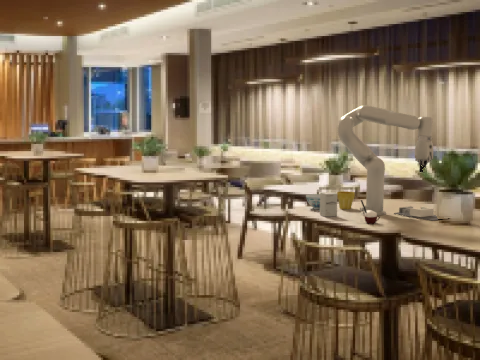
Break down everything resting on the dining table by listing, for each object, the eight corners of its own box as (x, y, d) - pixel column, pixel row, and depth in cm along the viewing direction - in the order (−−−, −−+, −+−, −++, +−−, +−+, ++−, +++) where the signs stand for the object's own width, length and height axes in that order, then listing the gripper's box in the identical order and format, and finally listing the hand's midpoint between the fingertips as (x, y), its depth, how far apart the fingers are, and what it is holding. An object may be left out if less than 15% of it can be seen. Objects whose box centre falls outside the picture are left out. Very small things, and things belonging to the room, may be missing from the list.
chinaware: (336, 208, 359) (336, 195, 358) (321, 211, 348) (322, 198, 347) (315, 206, 369) (315, 193, 368) (300, 208, 358) (301, 195, 357)
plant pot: (357, 209, 356) (358, 192, 355) (342, 210, 353) (342, 193, 352) (348, 207, 366) (348, 190, 365) (333, 207, 362) (333, 191, 361)
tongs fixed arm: (420, 216, 326) (420, 211, 326) (398, 212, 339) (398, 207, 339) (432, 215, 331) (432, 209, 331) (410, 211, 344) (410, 206, 344)
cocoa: (379, 222, 311) (380, 199, 309) (379, 224, 305) (380, 200, 303) (360, 221, 313) (360, 198, 312) (360, 223, 307) (360, 200, 305)
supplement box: (324, 216, 328) (325, 193, 327) (319, 214, 336) (319, 192, 334) (337, 216, 330) (337, 193, 329) (331, 214, 337) (332, 191, 336)
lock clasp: (420, 217, 322) (421, 209, 322) (409, 215, 329) (410, 208, 328) (433, 215, 328) (433, 208, 327) (422, 213, 334) (422, 206, 334)
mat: (432, 220, 316) (432, 219, 316) (393, 214, 339) (393, 213, 339) (450, 218, 323) (450, 217, 323) (411, 212, 346) (411, 211, 346)
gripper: (439, 139, 329) (437, 173, 331) (419, 138, 342) (417, 170, 344) (429, 139, 325) (427, 173, 327) (409, 138, 338) (407, 171, 340)
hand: (422, 172), depth 335 cm, fingers closed
